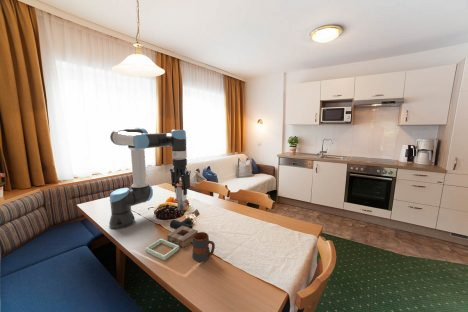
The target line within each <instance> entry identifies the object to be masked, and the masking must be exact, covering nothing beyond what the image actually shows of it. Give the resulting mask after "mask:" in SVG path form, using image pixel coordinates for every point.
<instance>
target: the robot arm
mask: <svg viewBox="0 0 468 312" xmlns="http://www.w3.org/2000/svg"><path fill="white" fill-rule="evenodd" d="M186 132H187V131H186V130H185V129H172V130H171V132H162V133H160V132H159V133H149V132H148V130H147V129H146V128H143V127H119V128H116V129H115V130H113V131H112V132H111V133H110V137H109V139H110V141H111V142H112V143H113V144H114V145H117V146H123V147H124V146H127V148H128V149H129V150H130V157H131V170H132V171H131V172H132V184H131V185H130V188H128V187H123V188H118V189H115V190H114V191H112V192H110V194H109V202H110V203H109V205H110V211H111V215H110V219H109V222H108V223H109V224H108V225H109V228H110V227H111V229H113V228H115V229H114V230H116V229H117V228H119V229H123V228H127V227H130V226H132V225H133V224H134V223H135V221H136V220H135V219H136V218H135V215H134V214H133V210H132V206H136V205H140V204H144V203H146V202H149V201H150V200H151V199H152V198H153V196H154V189H153V187H152V186H151V184H150V183H149V182H148V181H147V169H146V155H145V154H146V153H145V152H146V151H145V149H152V148H163V147H164V148H165V147H166V148H167V147H169V148H171V153H172V156H171V157H172V166H173V168H170V169H169V171H170V179H171V187H173V188H174V194H175V200H178V199H177V186H176V183H178V182H182V187H183V189H182V201H185V202H186V200H188V199H187V195H188V189H190V188H191V170H188V168H187V165H188V160H187V156H188V155H187V133H186ZM117 230H118V229H117Z"/></svg>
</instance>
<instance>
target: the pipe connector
mask: <svg viewBox="0 0 468 312" xmlns="http://www.w3.org/2000/svg"><path fill="white" fill-rule="evenodd" d="M193 220H194V218H193V217H190V216H187V217H186V218H185V219H184V220H181V221H179V220H177V219H172V220H170V222H169V227H171V228H172V229H174V230H176V229H178V228H179V227H181V226H185V227H188V228H191V229H194V227H193V225H192V224H194V222H193Z"/></svg>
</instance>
